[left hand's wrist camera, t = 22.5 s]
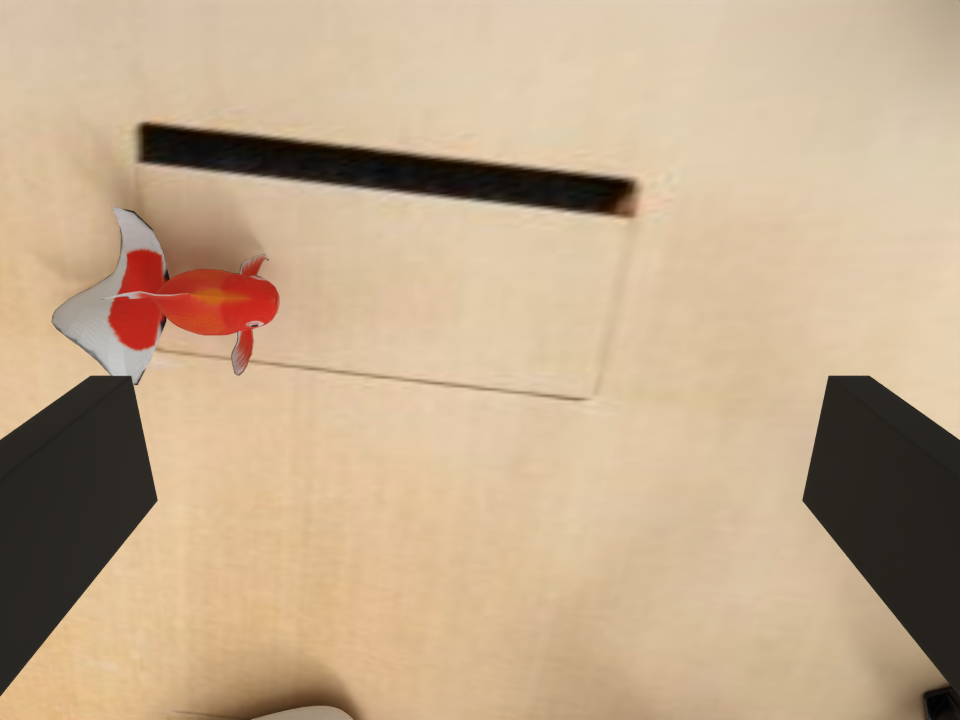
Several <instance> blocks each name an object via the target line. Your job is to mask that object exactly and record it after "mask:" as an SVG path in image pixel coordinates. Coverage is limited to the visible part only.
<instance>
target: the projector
mask: <svg viewBox="0 0 960 720" xmlns="http://www.w3.org/2000/svg"><path fill="white" fill-rule="evenodd" d="M252 720H353V719H352V718H351V717H350V716H349V715H348V714H347V713H345V712H344V711H342V710H340V709H338V708H335V707H330V706H309V707H301V708H296V709H290V710H286V711H282V712H277V713H273V714H269V715H266V716H262V717H258V718H255V719H252Z"/></svg>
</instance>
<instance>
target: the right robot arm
mask: <svg viewBox="0 0 960 720" xmlns="http://www.w3.org/2000/svg"><path fill="white" fill-rule="evenodd" d="M924 705H925V714H926V720H960V696H959V695H958V694H957V692H956V691H955V690H954V689H953V687H949V688H945V689H941V690H937V691H932V692H928V693H926V694H925V695H924Z"/></svg>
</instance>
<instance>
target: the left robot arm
mask: <svg viewBox="0 0 960 720" xmlns="http://www.w3.org/2000/svg"><path fill="white" fill-rule="evenodd" d="M157 501H158V500H157V495H156V490H155V486H154V481H153V476H152V471H151V467H150V462H149V457H148V452H147V448H146V443H145V438H144V433H143V429H142V424H141V419H140V414H139V409H138V405H137V400H136V395H135V390H134V386H133V381H132V376H90V377H88V378H87V379H85V380H84V381H83V382H81V383H80V384H78V385H77V386H76V387H74V388H73V389H71V390H70V391H69V392H67V393H66V394H64V395H63V396H61V397H60V398H59V399H57V400H56V401H54V402H53V403H52V404H50V405H49V406H47V407H46V408H45V409H43V410H42V411H40V412H39V413H38V414H36V415H35V416H33V417H32V418H31V419H29V420H28V421H26V422H25V423H23V424H22V425H21V426H19V427H18V428H16V429H15V430H14V431H12V432H11V433H9V434H8V435H7V436H5V437H4V438H2V439H1V440H0V696H1V695H2V694H3V692H4V691H5V690H6V689H7V687H8V686H9V685H10V684H11V682H12V681H13V680H14V679H15V677H16V676H17V675H18V674H19V672H20V671H21V670H22V669H23V667H24V666H25V665H26V664H27V662H28V661H29V660H30V659H31V658H32V656H33V655H34V654H35V653H36V651H37V650H38V649H39V648H40V646H41V645H42V644H43V643H44V641H45V640H46V639H47V638H48V636H49V635H50V634H51V633H52V631H53V630H54V629H55V628H56V626H57V625H58V624H59V623H60V621H61V620H62V619H63V618H64V616H65V615H66V614H67V613H68V611H69V610H70V609H71V608H72V606H73V605H74V604H75V603H76V602H77V600H78V599H79V598H80V597H81V595H82V594H83V593H84V592H85V590H86V589H87V588H88V587H89V585H90V584H91V583H92V582H93V580H94V579H95V578H96V577H97V575H98V574H99V573H100V572H101V570H102V569H103V568H104V567H105V565H106V564H107V563H108V562H109V560H110V559H111V558H112V557H113V555H114V554H115V553H116V552H117V550H118V549H119V548H120V547H121V546H122V544H123V543H124V542H125V541H126V539H127V538H128V537H129V536H130V534H131V533H132V532H133V531H134V529H135V528H136V527H137V526H138V524H139V523H140V522H141V521H142V519H143V518H144V517H145V516H146V514H147V513H148V512H149V511H150V509H151V508H152V507H153V506H154V504H155V503H156V502H157ZM802 501H803V502H804V503H805V504H806V506H807V507H808V508H809V509H810V511H811V512H812V513H813V514H814V516H815V517H816V518H817V519H818V521H819V522H820V523H821V524H822V526H823V527H824V528H825V529H826V531H827V532H828V533H829V534H830V536H831V537H832V538H833V539H834V541H835V542H836V543H837V544H838V546H839V547H840V548H841V549H842V550H843V552H844V553H845V554H846V555H847V557H848V558H849V559H850V560H851V562H852V563H853V564H854V565H855V567H856V568H857V569H858V570H859V572H860V573H861V574H862V575H863V577H864V578H865V579H866V580H867V582H868V583H869V584H870V585H871V587H872V588H873V589H874V590H875V592H876V593H877V594H878V595H879V597H880V598H881V599H882V600H883V602H884V603H885V604H886V605H887V606H888V608H889V609H890V610H891V611H892V613H893V614H894V615H895V616H896V618H897V619H898V620H899V621H900V623H901V624H902V625H903V626H904V628H905V629H906V630H907V631H908V633H909V634H910V635H911V636H912V638H913V639H914V640H915V641H916V643H917V644H918V645H919V646H920V648H921V649H922V650H923V651H924V653H925V654H926V655H927V656H928V658H929V659H930V660H931V661H932V662H933V664H934V665H935V666H936V667H937V669H938V670H939V671H940V672H941V674H942V675H943V676H944V677H945V679H946V680H947V681H948V682H949V684H950V685H951V686H952V687H953V689H954V690H955V691H956V692H957V694H958V695H959V696H960V440H959V439H958V438H956V437H955V436H953V435H952V434H951V433H949V432H948V431H946V430H945V429H944V428H942V427H941V426H939V425H938V424H937V423H935V422H934V421H932V420H931V419H929V418H928V417H927V416H925V415H924V414H922V413H921V412H920V411H918V410H917V409H915V408H914V407H913V406H911V405H910V404H908V403H907V402H906V401H904V400H903V399H901V398H900V397H899V396H897V395H896V394H894V393H893V392H891V391H890V390H889V389H887V388H886V387H884V386H883V385H882V384H880V383H879V382H877V381H876V380H875V379H873V378H872V377H870V376H828V381H827V386H826V390H825V395H824V400H823V405H822V409H821V414H820V419H819V424H818V429H817V433H816V438H815V443H814V448H813V452H812V457H811V462H810V467H809V471H808V476H807V481H806V486H805V490H804V495H803V500H802Z"/></svg>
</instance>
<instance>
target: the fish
mask: <svg viewBox="0 0 960 720" xmlns="http://www.w3.org/2000/svg"><path fill="white" fill-rule="evenodd" d="M111 208H112V209H113V211H114V213H115V215H116V217H117V220H118V222H119V225H120V231H121V253H120V258H119V261H118V264H117V268H116V270H115V272H114V273H113V274H111V275H110V276H108V277H107V278H105V279H104V280H102V281H101V282H100V283H98V284H97V285H95V286H94V287H91V288H89V289H87V290H85V291H83V292H81V293H79V294H77V295H75V296H73V297H71V298H70V299H68V300H67V301H66V302H65V303H63V304H62V305H61V306H60V307H58V308H57V309H56V310H55V312H54V314H53V316H52V323H53V325H54V326H55V328H56V329H57V330H58V331H60V332H61V333H62V334H63V335H65V336H66V337H67V338H69V339H70V340H72V341H73V342H74V343H76V344H77V345H79V346H80V347H81V348H82V349H84V350H85V351H86V352H87V353H88V354H90V355H91V356H92V357H93V358H94V359H96V360H97V361H98V362H99V363H100V364H101V365H102V366H103V367H104V368H105V370H106V371H107V372H108V373H109V374H110V375H111V376H132V381H133V385H138V383H139V381H140V379H141V377H142V375H143V373H144V371H145V369H146V367H147V365H148V363H149V361H150V359H151V357H152V355H153V353H154V350H155V348H156V346H157V343H158V341H159V338H160V336H161V333H162V331H163V328H164V326H165V323H166V317H167V318H168V319H169V320H170V321H171V322H172V323H173V324H175V325H176V326H178V327H180V328H182V329H185V330H187V331H190V332H193V333H196V334H200V335H229V334H233V333H235V332H238V338H237V343H236V345H235V347H234V349H233V351H232V356H231V358H232V364H233V369H234V373H235V374H236V375H240V374H241V373H243V372H244V370H245V368H246V367H247V364H248V361H249V358H250V356H251V355H252V350H253V332H252V329H254V328H257V327H259V326H263V325H266V324H268V323H269V322H271V321H272V320H273V318H274V317H275V315H276V314H277V313H278V309H279V305H280V298H279V294H278V292H277V290H276V288H275V286H273V285H272V284H271V283H270V282H268V281H267V280H265V279H264V278H262V277H260V276H257V273H258V271H259V269H260V266H261V264H262V262H263V260H264V259H267V260H269V259H268V258H267V256H266V255H265V254H263V255H259V256H255V257H253V258H250V259H248V260H246V261H245V262H243V263H242V264H241V266H240V273H239V274H236V273H235V274H232V273H229V272H226V271H220V270H212V269H197V270H192V271H188V272H185V273H182V274H179V275H177V276H174V277H173V278H171V279H170V280H169V274H168V270H167V266H166V262H165V258H164V254H163V252H162V249H161V246H160V244H159V242H158V240H157V238H156V236H155V234H154V231H153V229H152V228H151V227H150V226H149V225H148V224H146V223H145V222H144V221H143V220H142V219H141V218H140V217H139V216H138V215H137V214H136V213H135V212H134V211H130V210H125V209H120V208H115V207H111Z"/></svg>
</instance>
